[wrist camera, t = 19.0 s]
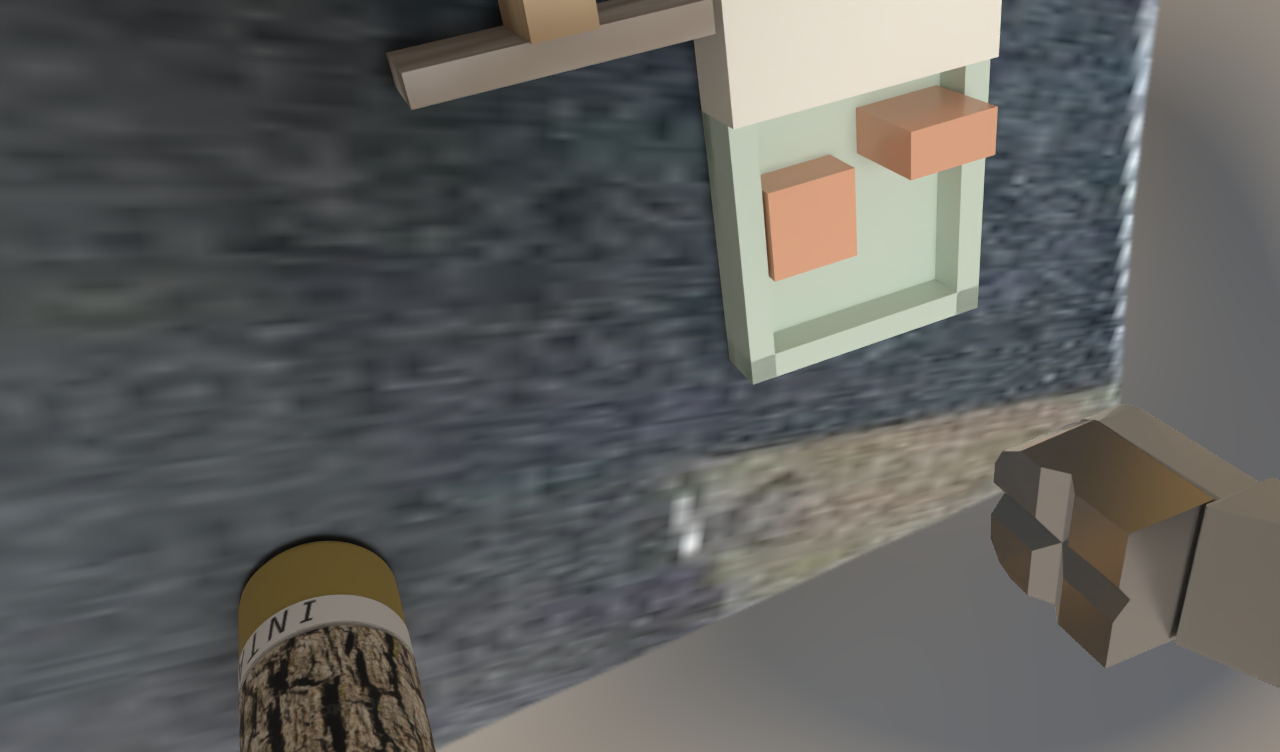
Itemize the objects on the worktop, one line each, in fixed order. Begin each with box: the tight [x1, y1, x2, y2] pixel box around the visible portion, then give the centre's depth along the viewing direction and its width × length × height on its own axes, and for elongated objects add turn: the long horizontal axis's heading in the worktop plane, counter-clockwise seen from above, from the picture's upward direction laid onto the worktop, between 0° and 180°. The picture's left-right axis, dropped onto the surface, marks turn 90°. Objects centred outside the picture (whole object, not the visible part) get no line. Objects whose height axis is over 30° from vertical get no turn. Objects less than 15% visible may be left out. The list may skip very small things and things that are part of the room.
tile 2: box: [856, 85, 998, 180], centre depth 40 cm, size 4×4×2 cm
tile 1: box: [761, 155, 857, 282], centre depth 41 cm, size 4×4×2 cm
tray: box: [702, 59, 990, 384], centre depth 42 cm, size 12×12×2 cm
